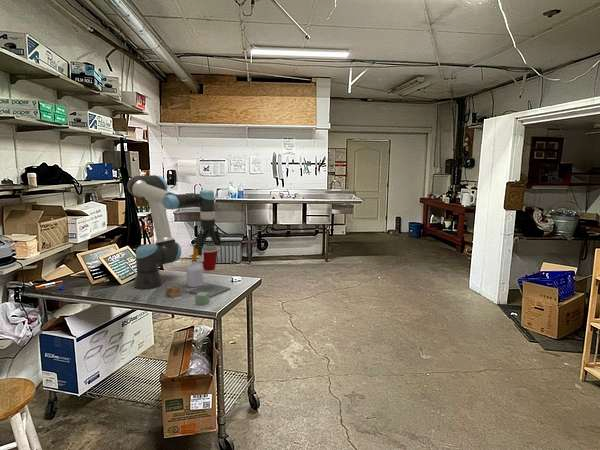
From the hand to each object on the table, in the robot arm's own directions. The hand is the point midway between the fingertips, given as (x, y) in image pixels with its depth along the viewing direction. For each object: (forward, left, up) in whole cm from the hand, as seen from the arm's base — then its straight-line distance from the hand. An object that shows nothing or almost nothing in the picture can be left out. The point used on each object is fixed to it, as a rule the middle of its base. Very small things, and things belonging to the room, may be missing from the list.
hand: (209, 258), depth 203 cm
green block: (+10, -16, -18) cm, 26 cm away
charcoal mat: (0, 0, -18) cm, 18 cm away
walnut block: (-11, -16, -18) cm, 27 cm away
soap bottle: (-15, +4, -19) cm, 24 cm away
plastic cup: (0, 0, -6) cm, 6 cm away
